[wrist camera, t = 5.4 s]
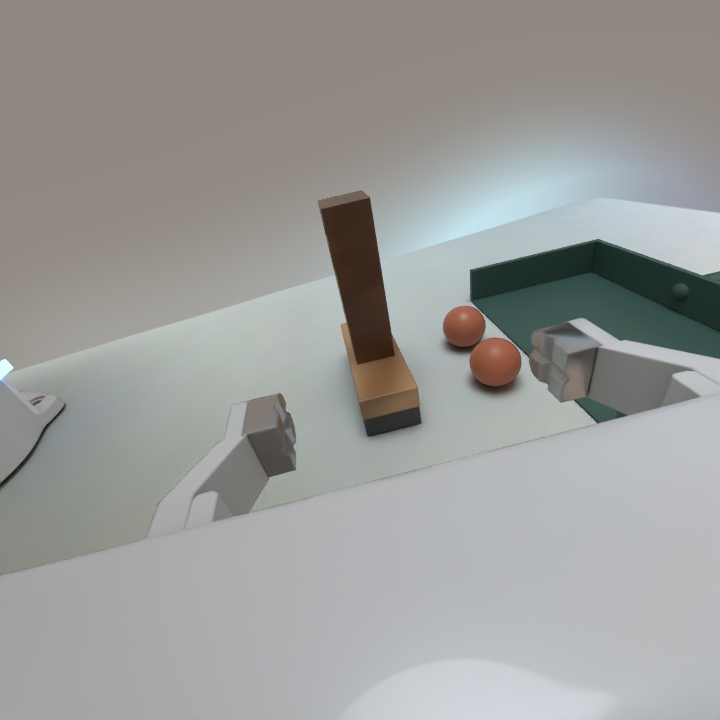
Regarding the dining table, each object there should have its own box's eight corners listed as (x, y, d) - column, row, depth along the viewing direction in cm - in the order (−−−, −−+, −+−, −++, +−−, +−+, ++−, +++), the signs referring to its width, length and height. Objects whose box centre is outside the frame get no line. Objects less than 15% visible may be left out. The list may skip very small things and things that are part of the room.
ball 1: (438, 351, 29) (435, 316, 27) (451, 331, 31) (450, 297, 29) (478, 357, 27) (478, 320, 25) (490, 335, 29) (490, 300, 27)
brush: (368, 439, 22) (315, 226, 15) (348, 355, 31) (307, 193, 23) (422, 425, 22) (395, 207, 15) (387, 345, 31) (359, 181, 24)
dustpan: (615, 439, 19) (629, 394, 17) (470, 300, 35) (469, 269, 33) (985, 344, 19) (1034, 291, 18) (677, 250, 35) (687, 217, 33)
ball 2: (463, 390, 24) (462, 351, 23) (477, 363, 26) (477, 326, 25) (513, 400, 23) (516, 359, 21) (524, 371, 25) (527, 331, 23)
